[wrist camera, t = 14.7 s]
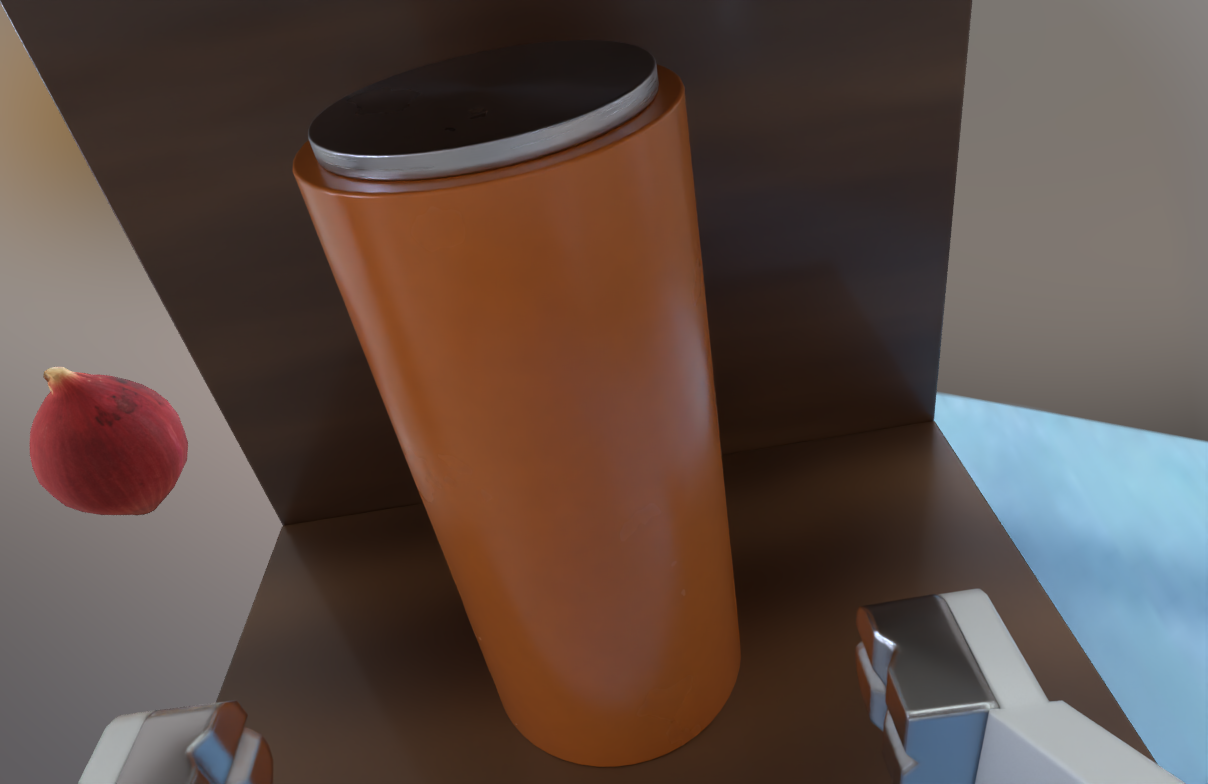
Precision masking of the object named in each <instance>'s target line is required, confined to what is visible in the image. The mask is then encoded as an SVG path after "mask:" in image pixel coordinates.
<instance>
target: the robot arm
mask: <svg viewBox="0 0 1208 784" xmlns="http://www.w3.org/2000/svg"><path fill="white" fill-rule="evenodd" d="M856 626H857V629H858V631H859V634H860V637H861V639H862V641H861V642H860V643H859V644H858V645H857V646H856V647H855V658H856V670H857V677H858V683H859V688H860V691H861V695H862V698H863V702H864V705H865V708H866V711H867V714H868V716H869V719H870V721H871V722H872V723H873V724H875V725H876V726H877V727H878V728H880V729H881V730H882V731H883V743H882V756H883V758H884V761H885V764H886V766H887V769H888V772H889V775H890V777H891V780H892V783H893V784H1186V783H1184V782H1183V781H1181V780H1180V779H1178V778H1177V777H1175V776H1174V775H1172V774H1171V773H1169V772H1168V771H1166V770H1165V769H1163V768H1162V767H1160V766H1159V765H1157V764H1156V763H1154V762H1153V761H1151V760H1150V759H1148V758H1147V757H1146V756H1144V755H1143V754H1141V753H1140V752H1138V751H1137V750H1135V749H1134V748H1132V747H1131V746H1129V745H1128V744H1126V743H1125V742H1123V741H1122V740H1120V739H1119V738H1117V737H1116V736H1114V735H1113V734H1111V733H1110V732H1108V731H1107V730H1105V729H1104V728H1102V727H1101V726H1099V725H1098V724H1096V723H1095V722H1093V721H1092V720H1090V719H1089V718H1087V717H1086V716H1084V715H1083V714H1081V713H1080V712H1078V711H1077V710H1075V709H1074V708H1072V707H1071V706H1070V705H1068V704H1067V703H1065V702H1064V701H1052V702H1049V700H1048V699H1047V697H1046V695H1045V694H1044V692H1043V690H1042V688H1041V687H1040V685H1039V683H1038V682H1037V680H1036V678H1035V676H1034V675H1033V673H1032V671H1031V669H1030V668H1029V666H1028V664H1027V663H1026V661H1025V659H1024V657H1023V656H1022V654H1021V652H1020V650H1019V649H1018V647H1017V645H1016V644H1015V642H1014V640H1013V638H1012V637H1011V635H1010V633H1009V631H1008V630H1007V628H1006V626H1005V625H1004V623H1003V621H1002V619H1001V618H1000V616H999V614H998V613H997V611H996V609H995V607H994V606H993V604H992V602H991V600H990V599H989V597H988V595H987V594H986V593H984V592H983V591H982V590H981V589H970V590H963V591H957V592H951V593H945V594H939V595H936V594H931V595H925V596H919V597H913V598H907V599H900V600H894V601H888V602H882V603H876V604H870V605H864V606H859V608H858V610H857V616H856ZM247 716H248V714H247V713H246V712H245V710H244V709H243V708H242V707H241V705H240V704H239V703H238V702H237V700H236V701H228V702H220V703H212V704H204V705H196V706H189V707H180V708H172V709H164V710H155V711H148V712H141V713H134V714H127V715H120V716H117V717H116V718H115V719H114V720H113V721H112V722H111V723H110V724H109V725H108V726H107V727H106V728H105V730H104V732H103V734H102V736H101V739H100V740H99V742H98V744H97V746H96V748H95V751H94V752H93V754H92V756H91V758H90V760H89V762H88V764H87V766H86V768H85V770H84V772H83V774H82V776H81V778H80V780H79V782H78V784H273V757H272V754H271V750H270V747H269V744H268V743H267V741H266V740H265V738H264V737H263V735H262V734H260V733H258V732H256V731H253V730H251V729H249V728H247V727H245V726H244V725H245V722H246V719H247Z"/></svg>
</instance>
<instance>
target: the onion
mask: <svg viewBox="0 0 1208 784" xmlns="http://www.w3.org/2000/svg"><path fill="white" fill-rule="evenodd" d="M44 378H45V379H46V380H47V382H48V386H49V388H50V391H51V392H50V393H49V394H48V395H47V397H46V398H45V400H44V402H43V403H42V405H41V407H40V408H39V410H38V412H37V414H36V416H35V419H34V421H33V424H32V428H31V432H30V457H31V461H32V467H33V469H34V472H35V474H36V476H37V479H38V481H39V483H40V484H41V485H42V486H43V487H44V488H45V489H46V490H47V491H48V492H49V493H50V494H51V495H52V496H53V497H55V498H56V499H57V500H59V501H60V502H61V503H63V504H64V505H65V506H67V507H70V508H73V509H76V510H79V511H82V512H87V513H93V514H100V515H142V514H143V515H144V514H147V513H150V512H152V511H154V510H155V509H156V508H157V506H158V505H159V504H160V503H161V502H162V501H163V500H164V499H165V498H166V496H167V495H168V494H169V493H170V491H171V490H172V489H173V488H174V486H175V484H176V482H177V480H178V478H179V476H180V474H181V472H182V469H183V467H184V465H185V463H186V461H187V450H188V442H187V438H186V435H185V431H184V429H183V426H182V424H181V421H180V418H179V416H178V414H177V412H176V411H175V410H174V409H173V407H172V406H171V405H170V403H169V402H168V401H167V400H166V399H164V398H163V397H162V396H161V395H159V394H158V393H157V392H156V391H154V390H152V389H150V388H148V387H146V386H144V385H142V384H139V383H136V382H133V381H130V380H126V379H122V378H117V377H113V376H107V375H91V374H86V373H77V372H71V371H69V370H67V369H65V368H64V367H52V368H49V369H48V370H46V371H45V372H44Z"/></svg>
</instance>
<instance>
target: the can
mask: <svg viewBox="0 0 1208 784" xmlns="http://www.w3.org/2000/svg"><path fill="white" fill-rule="evenodd" d="M308 139H309V140H308V141H307V142H305V143H304V144H303V146H302V147H301V148H300V149H299V150H298V152H297V153H296V155H295V158H294V160H293V174H294V176H295V179H296V182H297V184H298V187H299V189H300V192H301V194H302V197H303V199H304V202H305V204H306V207H307V209H308V212H309V215H310V217H311V220H312V222H313V225H314V227H315V230H316V232H317V235H318V237H319V240H320V242H321V245H322V248H323V250H324V253H325V255H326V258H327V260H328V263H329V265H330V268H331V270H332V273H333V275H334V278H335V281H336V283H337V286H338V288H339V291H340V293H341V296H342V298H343V301H344V303H345V306H346V308H347V311H348V314H349V316H350V319H351V321H352V324H353V326H354V329H355V331H356V334H357V336H358V339H359V341H360V344H361V347H362V349H363V352H364V354H365V357H366V359H367V362H368V364H369V367H370V369H371V372H372V374H373V377H374V380H375V382H376V385H377V387H378V390H379V392H380V395H381V397H382V400H383V402H384V405H385V407H386V410H387V413H388V415H389V418H390V420H391V423H392V425H393V428H394V430H395V433H396V435H397V438H398V440H399V443H400V446H401V448H402V451H403V453H404V456H405V458H406V461H407V463H408V466H409V468H410V471H411V473H412V476H413V479H414V481H415V484H416V486H417V489H418V491H419V494H420V496H421V499H422V501H423V504H424V506H425V509H426V512H427V514H428V517H429V519H430V522H431V524H432V527H433V529H434V532H435V534H436V537H437V539H438V542H439V545H440V547H441V550H442V552H443V555H444V557H445V560H446V562H447V565H448V567H449V570H450V572H451V575H452V578H453V580H454V583H455V585H456V588H457V590H458V593H459V595H460V598H461V600H462V603H463V605H464V608H465V611H466V613H467V616H468V618H469V621H470V623H471V626H472V628H473V631H474V633H475V636H476V638H477V641H478V644H479V646H480V649H481V651H482V654H483V656H484V659H485V661H486V664H487V666H488V669H489V671H490V674H491V677H492V679H493V682H494V684H495V687H496V689H497V692H498V694H499V697H500V699H501V702H502V704H503V707H504V709H505V712H506V713H507V715H508V717H509V718H510V720H511V721H512V723H513V724H514V726H515V727H516V728H517V729H518V730H519V731H520V733H521V734H522V735H523V736H524V737H526V738H527V739H528V740H529V741H530V742H531V743H533V744H534V745H535V746H537V747H539V748H540V749H542V750H543V751H545V752H547V753H548V754H551V755H553V756H555V757H558V758H560V759H562V760H565V761H569V762H573V763H576V764H580V765H588V766H595V767H617V766H625V765H633V764H637V763H641V762H645V761H649V760H652V759H655V758H657V757H660V756H662V755H665V754H668V753H669V752H671V751H673V750H675V749H677V748H679V747H681V746H682V745H684V744H685V743H687V742H688V741H690V740H691V739H692V738H694V737H695V736H697V735H698V734H699V733H700V732H701V731H702V730H703V729H704V728H706V727H707V726H708V725H709V724H710V723H711V722H712V720H713V719H714V718H715V717H716V716H717V714H718V713H719V712H720V711H721V709H722V708H723V706H724V704H725V703H726V701H727V700H728V698H729V696H730V694H731V692H732V690H733V687H734V685H735V683H736V679H737V676H738V672H739V668H740V660H741V639H740V629H739V620H738V610H737V600H736V590H735V580H734V570H733V560H732V550H731V540H730V530H729V521H728V511H727V501H726V491H725V481H724V471H723V461H722V451H721V441H720V432H719V422H718V412H717V402H716V392H715V382H714V372H713V362H712V352H711V342H710V333H709V323H708V313H707V303H706V293H705V283H704V273H703V263H702V253H701V243H700V234H699V224H698V214H697V204H696V194H695V184H694V174H693V164H692V154H691V145H690V135H689V125H688V115H687V105H686V95H685V87H684V85H683V82H682V80H681V78H680V77H679V76H678V75H677V74H676V73H675V72H674V71H672V70H670V69H668V68H666V67H664V66H661V65H658V64H656V61H655V59H654V57H653V56H652V55H651V54H650V53H649V52H648V51H647V50H645V49H643V48H641V47H638V46H634V45H631V44H626V43H621V42H613V41H601V40H569V41H553V42H542V43H533V44H525V45H518V46H511V47H505V48H499V49H494V50H488V51H483V52H478V53H473V54H469V55H464V56H460V57H456V58H452V59H448V60H444V61H440V62H436V63H433V64H429V65H426V66H422V67H419V68H416V69H412V70H409V71H406V72H403V73H400V74H397V75H394V76H392V77H389V78H386V79H384V80H381V81H379V82H376V83H374V84H371V85H369V86H367V87H364V88H362V89H360V90H358V91H356V92H354V93H352V94H350V95H348V96H346V97H344V98H342V99H341V100H339V101H337V102H336V103H334V104H333V105H331V106H330V107H328V108H327V109H325V110H324V111H323V112H322V113H321V114H319V115H318V116H317V117H316V118H315V119H314V121H313V122H312V123H311V125H310V127H309V129H308Z"/></svg>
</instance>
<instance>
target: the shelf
mask: <svg viewBox="0 0 1208 784" xmlns="http://www.w3.org/2000/svg"><path fill="white" fill-rule="evenodd" d="M0 3H1V5H2V7H3V9H4V11H5V12H6V14H7V16H8V18H9V20H10V22H11V24H12V25H13V27H14V29H15V31H16V33H17V34H18V36H19V38H20V40H21V42H22V44H23V46H24V48H25V49H26V51H27V53H28V55H29V57H30V59H31V61H32V62H33V64H34V66H35V68H36V70H37V71H38V73H39V75H40V77H41V79H42V81H43V83H44V85H45V86H46V88H47V90H48V92H49V94H50V96H51V97H52V99H53V101H54V103H55V105H56V107H57V108H58V110H59V112H60V114H61V116H62V118H63V120H64V122H65V123H66V125H67V127H68V129H69V131H70V132H71V134H72V136H73V138H74V139H75V142H76V143H77V146H78V147H79V149H80V151H81V153H82V155H83V157H84V158H85V160H86V162H87V164H88V166H89V167H90V169H91V171H92V173H93V175H94V177H95V179H96V181H97V183H98V184H99V186H100V188H101V190H102V192H103V194H104V195H105V197H106V199H107V201H108V203H109V205H110V207H111V208H112V210H113V212H114V214H115V216H116V218H117V220H118V221H119V223H120V225H121V227H122V228H123V231H124V232H125V234H126V236H127V238H128V240H129V242H130V244H131V245H132V247H133V249H134V251H135V253H136V254H137V256H138V258H139V260H140V262H141V264H142V266H143V268H144V269H145V271H146V273H147V275H148V277H149V279H150V281H151V282H152V284H153V286H154V288H155V290H156V292H157V293H158V295H159V297H160V299H161V301H162V303H163V305H164V306H165V308H166V310H167V311H168V314H169V316H170V317H171V319H172V321H173V323H174V325H175V327H176V329H177V330H178V332H179V334H180V336H181V338H182V340H183V342H184V343H185V345H186V347H187V349H188V351H189V353H190V354H191V356H192V358H193V360H194V362H195V364H196V365H197V367H198V369H199V371H200V373H201V375H202V377H203V378H204V380H205V382H206V384H207V386H208V388H209V389H210V391H211V393H212V395H213V397H214V398H215V401H216V402H217V404H218V406H219V408H220V410H221V412H222V414H223V415H224V417H225V419H226V421H227V423H228V425H229V427H230V428H231V430H232V432H233V434H234V436H235V438H236V440H237V441H238V443H239V445H240V447H241V449H242V450H243V452H244V454H245V456H246V458H247V460H248V462H249V464H250V465H251V467H252V469H253V471H254V473H255V475H256V477H257V478H258V480H259V482H260V484H261V486H262V488H263V489H264V491H265V493H266V495H267V497H268V499H269V501H270V502H271V504H272V506H273V508H274V510H275V512H276V513H277V515H278V517H279V519H280V521H281V523H282V525H283V527H282V529H281V531H280V534H279V537H278V539H277V542H276V545H275V547H274V550H273V552H272V555H271V558H270V560H269V563H268V566H267V568H266V571H265V574H264V576H263V579H262V582H261V584H260V587H259V589H258V592H257V595H256V597H255V600H254V603H253V605H252V608H251V611H250V613H249V616H248V619H247V621H246V624H245V627H244V629H243V632H242V635H241V637H240V640H239V643H238V645H237V648H236V650H235V653H234V656H233V658H232V661H231V664H230V666H229V669H228V672H227V674H226V677H225V680H224V682H223V685H222V687H221V691H220V693H219V696H218V698H217V701H216V703H220V702H228V701H236V700H237V702H238V703H239V704H240V705H241V707H242V708H243V709H244V710H245V712H246V713H247V714H248V716H247V719H246V722H245V725H244V726H245V727H247V728H249V729H251V730H253V731H256V732H258V733H260V734H262V735H263V737H264V738H265V740H266V741H267V743H268V744H269V747H270V750H271V754H272V757H273V784H893V783H892V780H891V777H890V775H889V772H888V769H887V766H886V764H885V761H884V758H883V756H882V743H883V731H882V730H881V729H880V728H878V727H877V726H876V725H875V724H873V723H872V722H871V721H870V719H869V716H868V714H867V711H866V708H865V705H864V702H863V698H862V695H861V691H860V688H859V683H858V677H857V670H856V658H855V647H856V646H857V645H858V644H859V643H860V642H861V641H862V639H861V637H860V634H859V631H858V629H857V626H856V616H857V610H858V608H859V606H864V605H870V604H876V603H882V602H888V601H894V600H900V599H907V598H913V597H919V596H925V595H931V594H936V595H939V594H945V593H951V592H957V591H963V590H970V589H981V590H982V591H983V592H984V593H986V594H987V595H988V597H989V599H990V600H991V602H992V604H993V606H994V607H995V609H996V611H997V613H998V614H999V616H1000V618H1001V619H1002V621H1003V623H1004V625H1005V626H1006V628H1007V630H1008V631H1009V633H1010V635H1011V637H1012V638H1013V640H1014V642H1015V644H1016V645H1017V647H1018V649H1019V650H1020V652H1021V654H1022V656H1023V657H1024V659H1025V661H1026V663H1027V664H1028V666H1029V668H1030V669H1031V671H1032V673H1033V675H1034V676H1035V678H1036V680H1037V682H1038V683H1039V685H1040V687H1041V688H1042V690H1043V692H1044V694H1045V695H1046V697H1047V699H1048V700H1049V702H1052V701H1064V702H1065V703H1067V704H1068V705H1070V706H1071V707H1072V708H1074V709H1075V710H1077V711H1078V712H1080V713H1081V714H1083V715H1084V716H1086V717H1087V718H1089V719H1090V720H1092V721H1093V722H1095V723H1096V724H1098V725H1099V726H1101V727H1102V728H1104V729H1105V730H1107V731H1108V732H1110V733H1111V734H1113V735H1114V736H1116V737H1117V738H1119V739H1120V740H1122V741H1123V742H1125V743H1126V744H1128V745H1129V746H1131V747H1132V748H1134V749H1135V750H1137V751H1138V752H1140V753H1141V754H1143V755H1144V756H1146V757H1147V758H1148V759H1150V760H1151V761H1153V762H1154V763H1156V761H1155V760H1154V758H1153V757H1152V755H1151V753H1150V752H1149V750H1148V749H1147V747H1146V746H1145V744H1144V743H1143V741H1142V740H1141V738H1140V737H1139V735H1138V733H1137V732H1136V730H1135V729H1134V727H1133V726H1132V724H1131V723H1130V721H1129V720H1128V718H1127V717H1126V715H1125V713H1124V712H1123V710H1122V709H1121V707H1120V706H1119V704H1118V703H1117V701H1116V700H1115V698H1114V697H1113V695H1112V693H1111V692H1110V690H1109V689H1108V687H1107V686H1106V684H1105V683H1104V681H1103V680H1102V678H1101V677H1100V675H1099V673H1098V672H1097V670H1096V669H1095V667H1094V666H1093V664H1092V663H1091V661H1090V660H1089V658H1088V657H1087V655H1086V653H1085V652H1084V650H1083V649H1082V647H1081V646H1080V644H1079V643H1078V641H1077V640H1076V638H1075V637H1074V635H1073V633H1072V632H1071V630H1070V629H1069V627H1068V626H1067V624H1066V623H1065V621H1064V620H1063V618H1062V617H1061V615H1060V613H1059V612H1058V610H1057V609H1056V607H1055V606H1054V604H1053V603H1052V601H1051V600H1050V598H1049V597H1048V595H1047V593H1046V592H1045V590H1044V589H1043V587H1042V586H1041V584H1040V583H1039V581H1038V580H1037V578H1036V577H1035V575H1034V573H1033V572H1032V570H1031V569H1030V567H1029V566H1028V564H1027V563H1026V561H1025V560H1024V558H1023V557H1022V555H1021V553H1020V552H1019V550H1018V549H1017V547H1016V546H1015V544H1014V543H1013V541H1012V540H1011V538H1010V537H1009V535H1008V533H1007V532H1006V530H1005V529H1004V527H1003V526H1002V524H1001V523H1000V521H999V520H998V518H997V517H996V515H995V513H994V512H993V510H992V509H991V507H990V506H989V504H988V503H987V501H986V500H985V498H984V497H983V495H982V493H981V492H980V490H979V489H978V487H977V486H976V484H975V483H974V481H973V480H972V478H971V477H970V475H969V473H968V472H967V470H966V469H965V467H964V466H963V464H962V463H961V461H960V460H959V458H958V457H957V455H956V453H955V452H954V450H953V449H952V447H951V446H950V444H949V443H948V441H947V440H946V438H945V437H944V435H943V433H942V432H941V430H940V429H939V427H938V426H937V424H936V423H935V422H934V413H935V402H936V391H937V380H938V369H939V358H940V346H941V336H942V325H943V314H944V303H945V293H946V282H947V271H948V260H949V249H950V238H951V227H952V216H953V205H954V193H955V183H956V172H957V161H958V150H959V139H960V129H961V118H962V106H963V96H964V85H965V74H966V63H967V52H968V41H969V30H970V18H971V8H972V0H0ZM569 40H601V41H613V42H621V43H626V44H631V45H634V46H638V47H641V48H643V49H645V50H647V51H648V52H649V53H650V54H651V55H652V56H653V57H654V59H655V61H656V64H658V65H661V66H664V67H666V68H668V69H670V70H672V71H674V72H675V73H676V74H677V75H678V76H679V77H680V78H681V80H682V82H683V85H684V87H685V95H686V105H687V115H688V125H689V135H690V145H691V154H692V164H693V174H694V184H695V194H696V204H697V214H698V224H699V234H700V243H701V253H702V263H703V273H704V283H705V293H706V303H707V313H708V323H709V333H710V342H711V352H712V362H713V372H714V382H715V392H716V402H717V412H718V422H719V432H720V441H721V451H722V461H723V471H724V481H725V491H726V501H727V511H728V521H729V530H730V540H731V550H732V560H733V570H734V580H735V590H736V600H737V610H738V620H739V629H740V639H741V660H740V668H739V672H738V676H737V679H736V683H735V685H734V687H733V690H732V692H731V694H730V696H729V698H728V700H727V701H726V703H725V704H724V706H723V708H722V709H721V711H720V712H719V713H718V714H717V716H716V717H715V718H714V719H713V720H712V722H711V723H710V724H709V725H708V726H707V727H706V728H704V729H703V730H702V731H701V732H700V733H699V734H698V735H697V736H695V737H694V738H692V739H691V740H690V741H688V742H687V743H685V744H684V745H682V746H681V747H679V748H677V749H675V750H673V751H671V752H669V753H668V754H665V755H662V756H660V757H657V758H655V759H652V760H649V761H645V762H641V763H637V764H633V765H625V766H617V767H595V766H588V765H580V764H576V763H573V762H569V761H565V760H562V759H560V758H558V757H555V756H553V755H551V754H548V753H547V752H545V751H543V750H542V749H540V748H539V747H537V746H535V745H534V744H533V743H531V742H530V741H529V740H528V739H527V738H526V737H524V736H523V735H522V734H521V733H520V731H519V730H518V729H517V728H516V727H515V726H514V724H513V723H512V721H511V720H510V718H509V717H508V715H507V713H506V712H505V709H504V707H503V704H502V702H501V699H500V697H499V694H498V692H497V689H496V687H495V684H494V682H493V679H492V677H491V674H490V671H489V669H488V666H487V664H486V661H485V659H484V656H483V654H482V651H481V649H480V646H479V644H478V641H477V638H476V636H475V633H474V631H473V628H472V626H471V623H470V621H469V618H468V616H467V613H466V611H465V608H464V605H463V603H462V600H461V598H460V595H459V593H458V590H457V588H456V585H455V583H454V580H453V578H452V575H451V572H450V570H449V567H448V565H447V562H446V560H445V557H444V555H443V552H442V550H441V547H440V545H439V542H438V539H437V537H436V534H435V532H434V529H433V527H432V524H431V522H430V519H429V517H428V514H427V512H426V509H425V506H424V504H423V501H422V499H421V496H420V494H419V491H418V489H417V486H416V484H415V481H414V479H413V476H412V473H411V471H410V468H409V466H408V463H407V461H406V458H405V456H404V453H403V451H402V448H401V446H400V443H399V440H398V438H397V435H396V433H395V430H394V428H393V425H392V423H391V420H390V418H389V415H388V413H387V410H386V407H385V405H384V402H383V400H382V397H381V395H380V392H379V390H378V387H377V385H376V382H375V380H374V377H373V374H372V372H371V369H370V367H369V364H368V362H367V359H366V357H365V354H364V352H363V349H362V347H361V344H360V341H359V339H358V336H357V334H356V331H355V329H354V326H353V324H352V321H351V319H350V316H349V314H348V311H347V308H346V306H345V303H344V301H343V298H342V296H341V293H340V291H339V288H338V286H337V283H336V281H335V278H334V275H333V273H332V270H331V268H330V265H329V263H328V260H327V258H326V255H325V253H324V250H323V248H322V245H321V242H320V240H319V237H318V235H317V232H316V230H315V227H314V225H313V222H312V220H311V217H310V215H309V212H308V209H307V207H306V204H305V202H304V199H303V197H302V194H301V192H300V189H299V187H298V184H297V182H296V179H295V176H294V174H293V160H294V158H295V155H296V153H297V152H298V150H299V149H300V148H301V147H302V146H303V144H304V143H305V142H307V141H308V140H309V139H308V129H309V127H310V125H311V123H312V122H313V121H314V119H315V118H316V117H317V116H318V115H319V114H321V113H322V112H323V111H324V110H325V109H327V108H328V107H330V106H331V105H333V104H334V103H336V102H337V101H339V100H341V99H342V98H344V97H346V96H348V95H350V94H352V93H354V92H356V91H358V90H360V89H362V88H364V87H367V86H369V85H371V84H374V83H376V82H379V81H381V80H384V79H386V78H389V77H392V76H394V75H397V74H400V73H403V72H406V71H409V70H412V69H416V68H419V67H422V66H426V65H429V64H433V63H436V62H440V61H444V60H448V59H452V58H456V57H460V56H464V55H469V54H473V53H478V52H483V51H488V50H494V49H499V48H505V47H511V46H518V45H525V44H533V43H542V42H553V41H569ZM1156 764H1157V763H1156ZM1157 765H1158V764H1157Z"/></svg>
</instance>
